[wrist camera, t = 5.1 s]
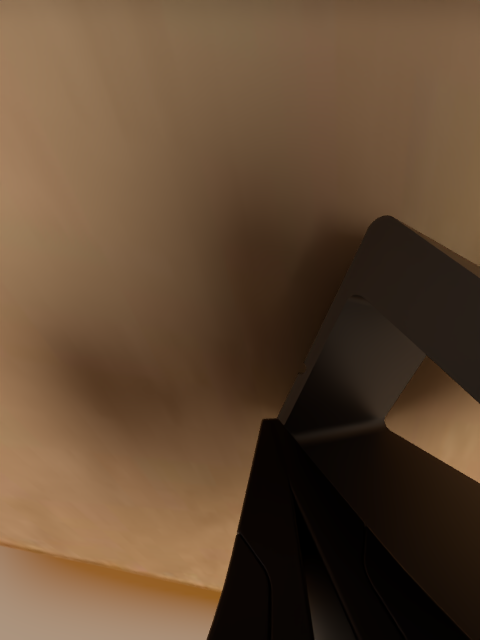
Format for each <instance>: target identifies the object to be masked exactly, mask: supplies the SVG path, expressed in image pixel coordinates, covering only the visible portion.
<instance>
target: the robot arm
mask: <svg viewBox="0 0 480 640" xmlns="http://www.w3.org/2000/svg"><path fill="white" fill-rule="evenodd" d="M207 640H472V639H471V638H470V637H469V636H468V635H467V634H466V633H465V632H464V631H463V630H462V629H461V628H460V627H459V626H458V625H457V624H456V623H455V622H454V620H453V619H452V618H451V617H450V616H449V615H448V614H447V613H446V612H445V611H444V610H443V609H442V608H441V607H440V606H439V605H438V604H437V603H436V602H435V601H434V600H433V599H432V598H431V597H430V595H429V594H428V593H427V592H426V591H425V590H424V589H423V588H422V587H421V586H420V585H419V584H418V583H417V582H416V581H415V579H414V578H413V577H412V576H411V575H410V574H409V573H408V572H407V571H406V570H405V569H404V568H403V566H402V565H401V564H400V563H399V562H398V561H397V560H396V558H395V557H394V556H393V555H392V554H391V553H390V551H389V550H388V549H387V548H386V547H385V546H384V545H383V543H382V542H381V541H380V540H379V539H378V537H377V536H376V535H375V534H374V533H373V531H372V530H371V529H370V528H369V527H368V526H365V522H364V521H363V520H362V518H361V517H360V516H359V515H358V514H357V512H356V511H355V510H354V509H353V508H352V506H351V505H350V504H349V503H348V502H347V500H346V499H345V498H344V497H343V496H342V494H341V493H340V492H339V491H338V490H337V488H336V487H335V486H334V485H333V484H332V482H331V481H330V480H329V479H328V478H327V477H326V475H325V474H324V473H323V472H322V471H321V469H320V468H319V467H318V466H317V465H316V463H315V462H314V461H313V460H312V459H311V457H310V456H309V455H308V454H307V453H306V451H305V450H304V449H303V448H302V447H301V445H300V444H299V443H298V442H297V441H296V439H295V438H294V437H293V436H292V435H291V433H290V432H289V431H288V430H287V429H286V427H285V426H284V425H283V424H282V423H281V421H280V420H279V419H277V418H274V419H263V420H262V422H261V426H260V431H259V435H258V440H257V444H256V449H255V453H254V458H253V462H252V467H251V471H250V476H249V480H248V485H247V489H246V494H245V498H244V503H243V507H242V512H241V516H240V521H239V525H238V530H237V535H236V538H235V542H234V547H233V551H232V556H231V560H230V564H229V568H228V572H227V575H226V579H225V583H224V587H223V590H222V593H221V597H220V600H219V603H218V606H217V609H216V612H215V616H214V619H213V622H212V625H211V628H210V631H209V634H208V637H207Z"/></svg>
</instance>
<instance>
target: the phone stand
mask: <svg viewBox="0 0 480 640" xmlns="http://www.w3.org/2000/svg"><path fill="white" fill-rule="evenodd" d="M426 355H427V356H428V357H429V358H430V359H432V360H433V361H434V362H435V363H436V364H437V365H438V366H439V367H440V368H441V369H442V370H444V371H445V372H446V373H447V374H448V375H449V376H450V377H451V378H452V379H453V380H454V381H456V382H457V383H458V384H459V385H460V386H461V387H462V388H463V389H464V390H465V391H467V392H468V393H469V394H470V395H471V396H472V397H473V398H474V399H475V400H476V401H477V402H479V403H480V267H479V266H477V265H476V264H474V263H472V262H470V261H469V260H467V259H465V258H463V257H462V256H460V255H458V254H456V253H455V252H453V251H451V250H449V249H448V248H446V247H444V246H443V245H441V244H439V243H437V242H436V241H434V240H432V239H430V238H429V237H427V236H425V235H423V234H422V233H420V232H418V231H416V230H415V229H413V228H411V227H409V226H408V225H406V224H404V223H402V222H401V221H399V220H397V219H395V218H394V217H392V216H382V217H379V218H377V219H376V220H375V221H373V222H372V223H371V225H370V226H369V227H368V229H367V231H366V234H365V236H364V238H363V240H362V242H361V244H360V246H359V248H358V250H357V252H356V254H355V256H354V259H353V261H352V263H351V265H350V267H349V269H348V271H347V273H346V275H345V277H344V279H343V281H342V284H341V286H340V288H339V290H338V292H337V294H336V296H335V298H334V300H333V302H332V304H331V306H330V309H329V311H328V313H327V315H326V317H325V319H324V321H323V323H322V325H321V327H320V329H319V331H318V334H317V336H316V338H315V340H314V342H313V344H312V346H311V348H310V350H309V352H308V354H307V357H306V359H305V361H304V364H305V366H306V370H305V372H304V373H298V375H297V377H296V379H295V382H294V384H293V386H292V388H291V390H290V392H289V394H288V396H287V398H286V400H285V402H284V404H283V407H282V409H281V411H280V413H279V415H278V417H277V419H279V420H280V421H281V423H282V424H283V425H284V426H285V427H286V429H287V430H288V431H289V432H290V433H291V435H292V436H293V437H294V438H295V439H296V441H297V442H298V443H299V444H300V445H301V447H302V448H303V449H304V450H305V451H306V453H307V454H308V455H309V456H310V457H311V459H312V460H313V461H314V462H315V463H316V465H317V466H318V467H319V468H320V469H321V471H322V472H323V473H324V474H325V475H326V477H327V478H328V479H329V480H330V481H331V482H332V484H333V485H334V486H335V487H336V488H337V490H338V491H339V492H340V493H341V494H342V496H343V497H344V498H345V499H346V500H347V502H348V503H349V504H350V505H351V506H352V508H353V509H354V510H355V511H356V512H357V514H358V515H359V516H360V517H361V518H362V520H363V521H364V522H365V526H368V527H369V528H370V529H371V530H372V531H373V533H374V534H375V535H376V536H377V537H378V539H379V540H380V541H381V542H382V543H383V545H384V546H385V547H386V548H387V549H388V550H389V551H390V553H391V554H392V555H393V556H394V557H395V558H396V560H397V561H398V562H399V563H400V564H401V565H402V566H403V568H404V569H405V570H406V571H407V572H408V573H409V574H410V575H411V576H412V577H413V578H414V579H415V581H416V582H417V583H418V584H419V585H420V586H421V587H422V588H423V589H424V590H425V591H426V592H427V593H428V594H429V595H430V597H431V598H432V599H433V600H434V601H435V602H436V603H437V604H438V605H439V606H440V607H441V608H442V609H443V610H444V611H445V612H446V613H447V614H448V615H449V616H450V617H451V618H452V619H453V620H454V622H455V623H456V624H457V625H458V626H459V627H460V628H461V629H462V630H463V631H464V632H465V633H466V634H467V635H468V636H469V637H470V638H471V639H472V640H480V483H478V482H476V481H475V480H473V479H471V478H470V477H468V476H466V475H465V474H463V473H461V472H459V471H458V470H456V469H454V468H453V467H451V466H449V465H448V464H446V463H444V462H443V461H441V460H439V459H437V458H436V457H434V456H432V455H431V454H429V453H427V452H426V451H424V450H422V449H420V448H419V447H417V446H415V445H414V444H412V443H410V442H409V441H407V440H405V439H404V438H402V437H400V436H398V435H397V434H395V433H393V432H392V431H390V430H389V429H388V428H387V427H386V425H385V422H384V419H385V416H386V415H387V413H388V412H389V410H390V409H391V407H392V406H393V404H394V403H395V401H396V400H397V398H398V397H399V396H400V394H401V393H402V391H403V390H404V388H405V387H406V385H407V384H408V382H409V381H410V379H411V378H412V376H413V375H414V373H415V372H416V370H417V369H418V367H419V366H420V364H421V363H422V361H423V360H424V358H425V357H426Z"/></svg>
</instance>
